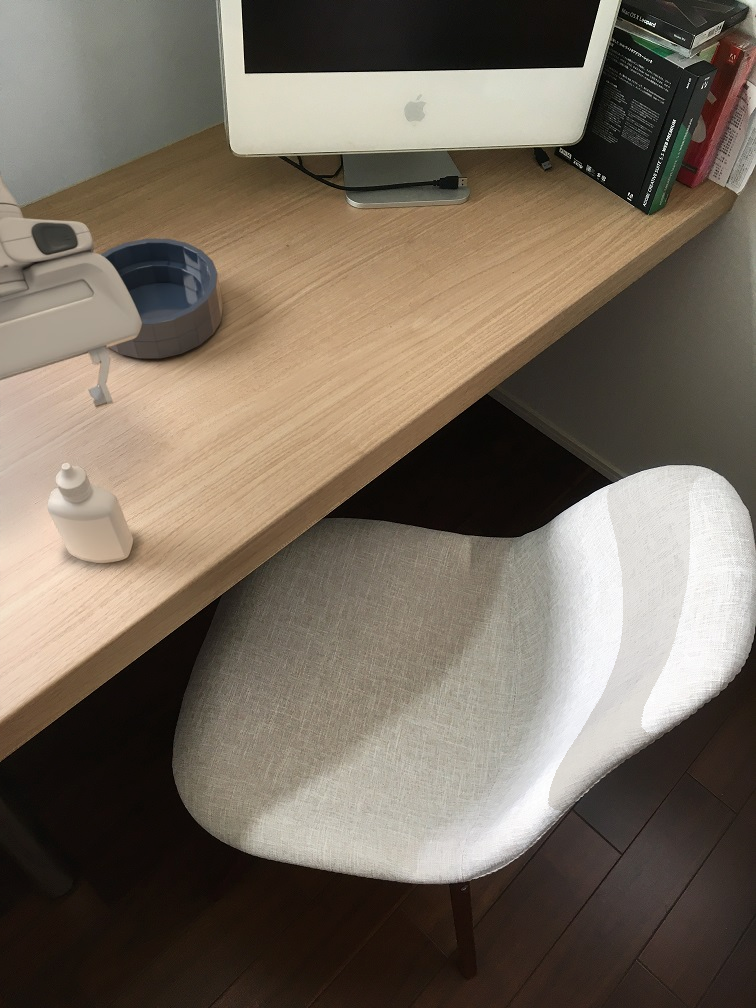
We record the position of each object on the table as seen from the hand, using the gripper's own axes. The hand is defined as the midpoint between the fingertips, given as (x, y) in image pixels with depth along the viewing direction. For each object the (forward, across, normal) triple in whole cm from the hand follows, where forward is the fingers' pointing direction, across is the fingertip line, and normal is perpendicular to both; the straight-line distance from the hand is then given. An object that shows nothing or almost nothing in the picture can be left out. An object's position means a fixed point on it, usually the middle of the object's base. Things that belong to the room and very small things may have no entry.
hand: (49, 424), depth 65 cm
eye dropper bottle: (+12, 0, +4) cm, 13 cm away
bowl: (-8, +15, +24) cm, 29 cm away
